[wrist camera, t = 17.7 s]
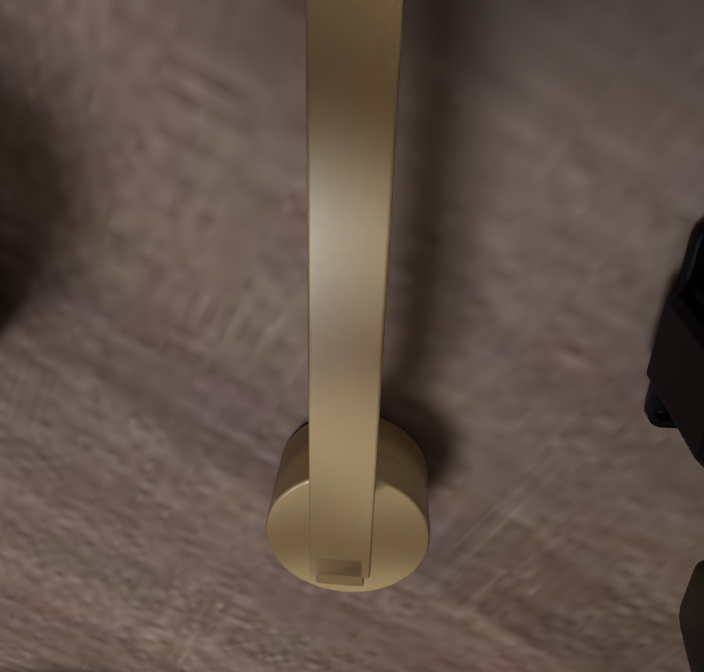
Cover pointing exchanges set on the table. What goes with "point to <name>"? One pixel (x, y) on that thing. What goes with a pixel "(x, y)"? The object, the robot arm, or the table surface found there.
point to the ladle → (349, 321)
